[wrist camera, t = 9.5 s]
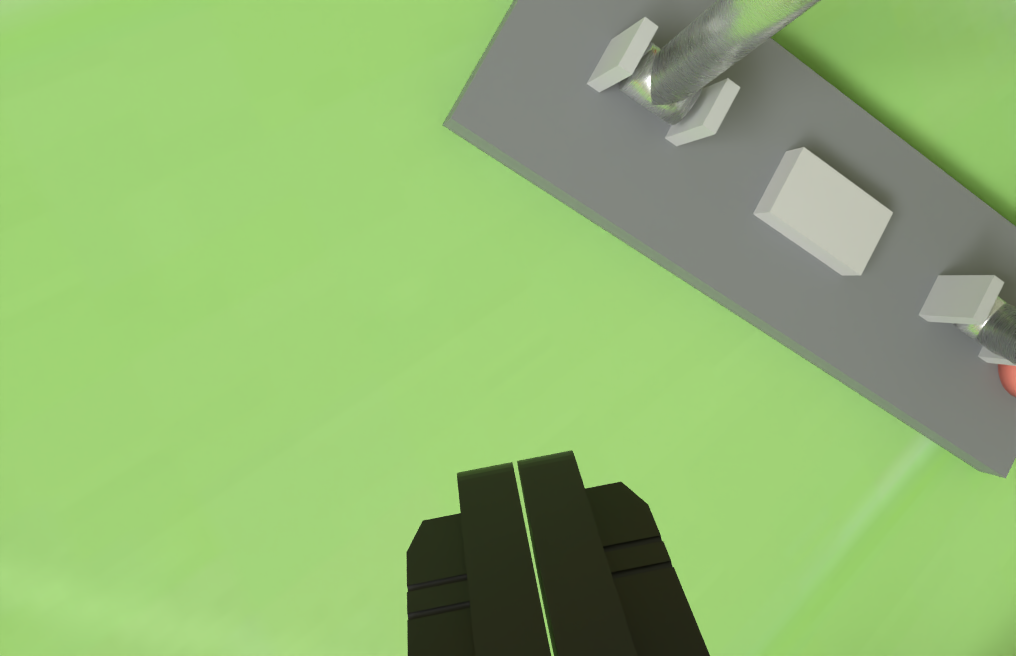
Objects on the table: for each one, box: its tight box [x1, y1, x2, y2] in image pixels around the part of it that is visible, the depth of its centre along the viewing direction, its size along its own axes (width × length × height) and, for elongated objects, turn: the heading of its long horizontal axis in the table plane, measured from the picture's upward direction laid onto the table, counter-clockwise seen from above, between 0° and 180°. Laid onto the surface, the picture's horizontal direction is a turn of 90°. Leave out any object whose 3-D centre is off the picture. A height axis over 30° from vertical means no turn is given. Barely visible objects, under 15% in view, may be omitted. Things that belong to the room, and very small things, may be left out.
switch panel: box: [443, 0, 1016, 478], centre depth 35 cm, size 10×30×4 cm, turn 60°
